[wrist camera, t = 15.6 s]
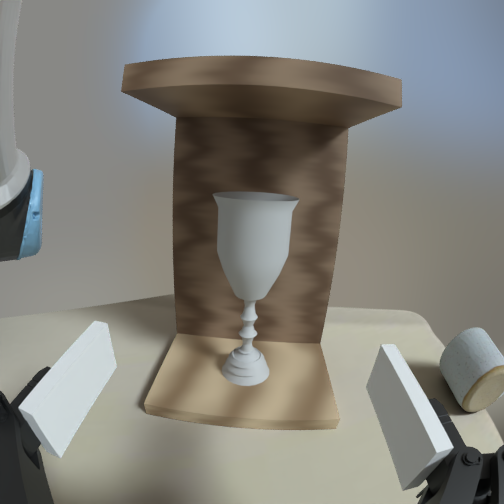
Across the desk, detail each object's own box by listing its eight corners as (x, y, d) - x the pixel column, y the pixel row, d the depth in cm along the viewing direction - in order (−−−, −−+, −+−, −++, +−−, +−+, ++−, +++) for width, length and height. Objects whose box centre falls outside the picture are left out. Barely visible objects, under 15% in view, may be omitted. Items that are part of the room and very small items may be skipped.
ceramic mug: (452, 421, 21) (486, 366, 19) (429, 377, 29) (452, 325, 26) (509, 407, 20) (539, 356, 18) (484, 371, 28) (506, 324, 25)
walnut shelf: (146, 413, 23) (124, 64, 15) (180, 337, 36) (180, 102, 28) (335, 428, 23) (401, 79, 14) (316, 347, 36) (346, 112, 28)
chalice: (261, 346, 34) (274, 192, 28) (291, 380, 28) (316, 202, 23) (203, 358, 30) (202, 191, 25) (225, 399, 25) (229, 201, 19)
